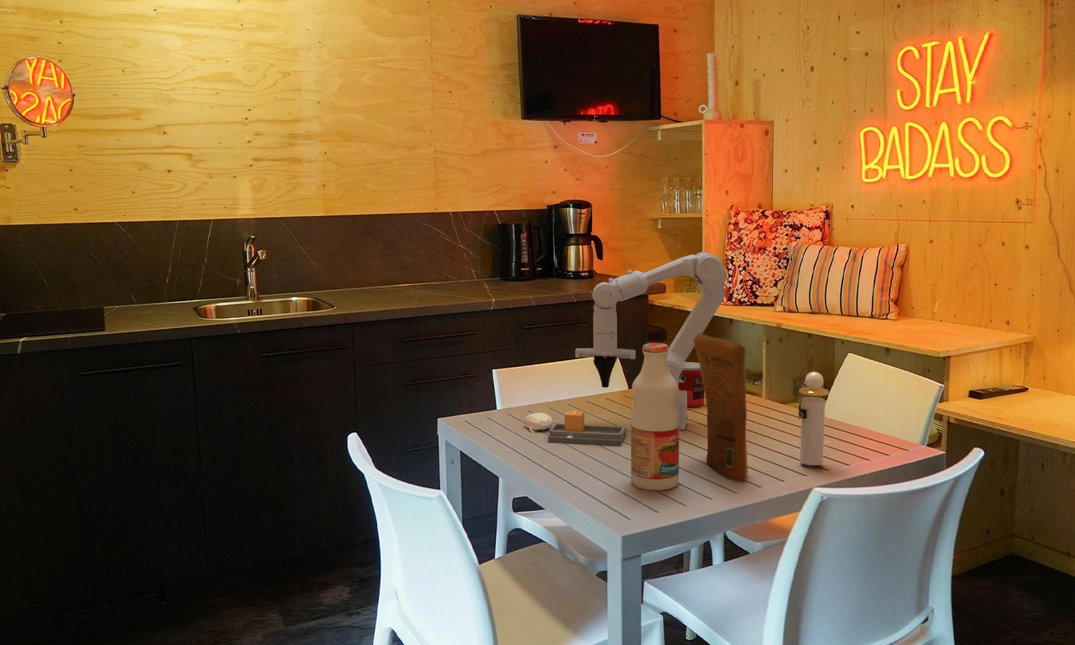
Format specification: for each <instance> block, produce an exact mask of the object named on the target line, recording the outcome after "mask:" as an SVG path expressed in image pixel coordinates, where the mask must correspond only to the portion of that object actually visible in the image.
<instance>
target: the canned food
mask: <svg viewBox="0 0 1075 645" xmlns="http://www.w3.org/2000/svg"><path fill="white" fill-rule="evenodd" d="M678 388H679V390H681V391H687V409H696V408H697V409H699V408H701V406H702V407H703V406H704V403H705V391H704V386H703V381H702V375H701V369H700V364H699V362H694V361H693V362H692V361H689V362H688V361H685V364H684V367H683V370H682V372H681V374H680V376H679V383H678Z"/></svg>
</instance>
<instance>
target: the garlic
mask: <svg viewBox="0 0 1075 645" xmlns="http://www.w3.org/2000/svg"><path fill="white" fill-rule="evenodd" d="M554 424H555V423H554V422H553V418H552V417H551V416H550V415H549V414H547V413H545V412H533V413H530V414H528V415H527V416H525V417H524V425H525V426H524V427H525V428H526V429H527V428H529V429H528V430H529V432H531V433H533V432H535V431H537V430H541V431H546V430H550V429H551V428H552V426H553V425H554Z"/></svg>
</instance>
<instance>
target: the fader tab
mask: <svg viewBox="0 0 1075 645" xmlns="http://www.w3.org/2000/svg"><path fill="white" fill-rule="evenodd" d="M563 418H564V424H565V431H580V432H583V431H584V424H585V410H569V409H568V410H567V411H566V412H565V413H564V417H563Z"/></svg>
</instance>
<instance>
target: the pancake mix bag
mask: <svg viewBox="0 0 1075 645" xmlns="http://www.w3.org/2000/svg"><path fill="white" fill-rule="evenodd" d="M694 349H695V352H696V356H697V359H698V363H699V364H700V369H701V375H702V381H703V386H704V399H705V403H706V412H707V414H706V420H707V421H706V425H707V428H706V429H707V438H706V440H707V450H706V451H707V452H706V464H707V465H709V466H710V467H712V468H713V469H714V470H716V471H717V472H718V473H720V474H721V475H722V476H724V478H726V479H729V480H733V481H740V482H746V481H747V479H746V478H748V474H749V473H748V470H749V468H748V447H747V431H746V430H747V429H746V428H747V402H746V398H747V388H746V384H747V383H746V375H747V374H746V373H747V372H746V358H747V350H748V349H747V348H746V347H745V346H743V345H742V344H741V343H738V342H736V341H732V340H727V339H725V338H719V337H712V336H709V335H707V334H703V333H702V334H700V333H697V335H696V336H695V337H694Z"/></svg>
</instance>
